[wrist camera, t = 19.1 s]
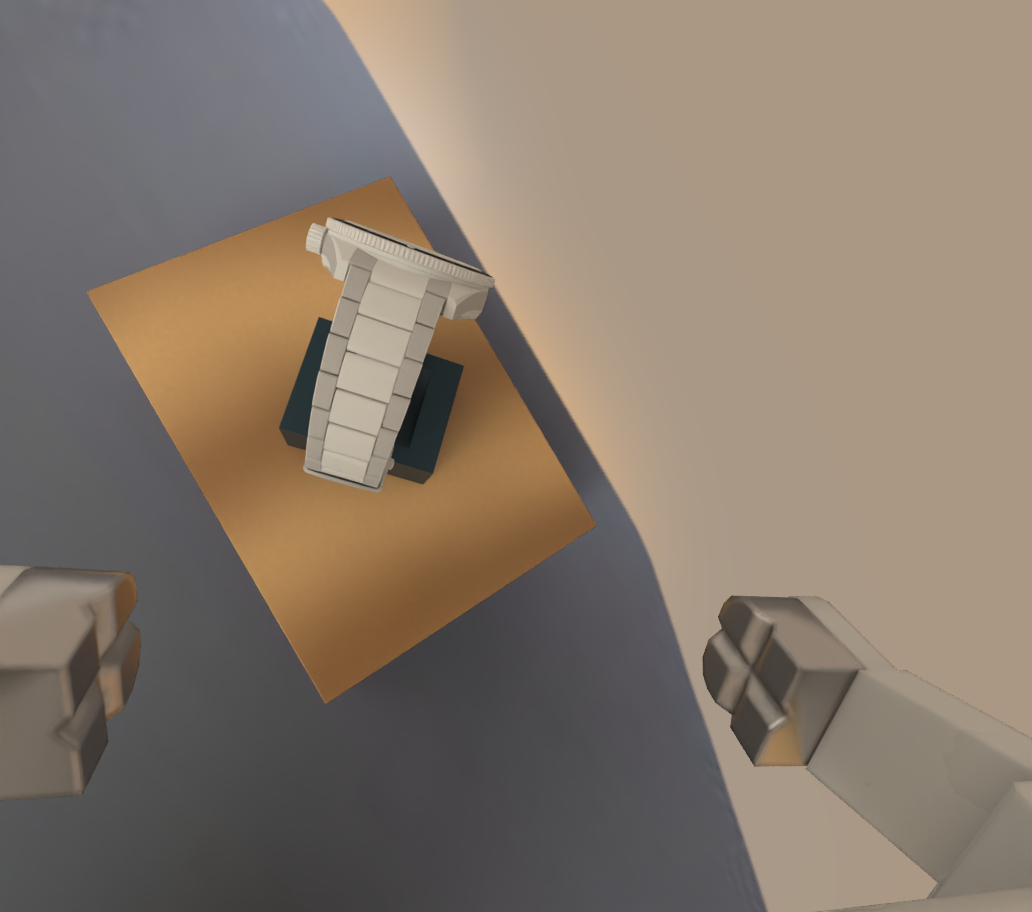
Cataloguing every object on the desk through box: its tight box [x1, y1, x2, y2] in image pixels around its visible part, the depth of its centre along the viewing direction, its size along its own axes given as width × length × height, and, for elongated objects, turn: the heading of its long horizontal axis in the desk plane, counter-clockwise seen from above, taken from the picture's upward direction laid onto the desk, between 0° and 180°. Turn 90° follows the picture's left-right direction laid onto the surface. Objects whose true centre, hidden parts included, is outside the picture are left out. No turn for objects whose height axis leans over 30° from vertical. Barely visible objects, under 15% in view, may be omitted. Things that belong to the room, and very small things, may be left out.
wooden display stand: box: [87, 177, 596, 704], centre depth 29 cm, size 18×13×8 cm
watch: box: [279, 218, 495, 493], centre depth 20 cm, size 6×8×11 cm
